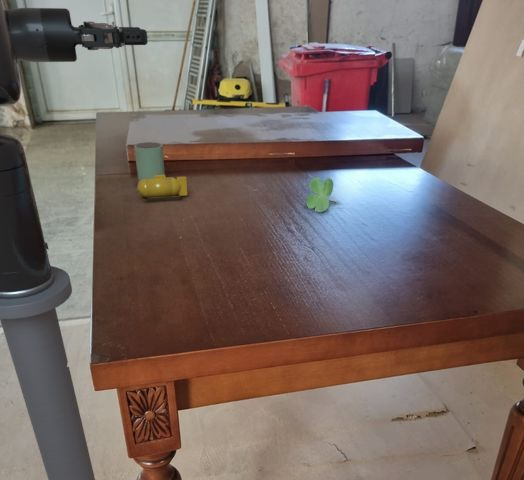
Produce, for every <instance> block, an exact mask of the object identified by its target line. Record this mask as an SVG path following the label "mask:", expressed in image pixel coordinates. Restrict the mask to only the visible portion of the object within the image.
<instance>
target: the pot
mask: <svg viewBox="0 0 524 480" xmlns="http://www.w3.org/2000/svg"><path fill="white" fill-rule="evenodd" d="M133 148H134V150H133V151H134V158H135V167H136V175H137V184H138V183H139V181H140V180H142V179H144V178H154V175H165V176H166V170H165V169H166V167H165V158H164V157H165V156H164V145H163V143H160V142H155V141H154V142H153V141H147V142H138V143H136V144H134V145H133Z"/></svg>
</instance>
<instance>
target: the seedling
mask: <svg viewBox="0 0 524 480" xmlns="http://www.w3.org/2000/svg"><path fill="white" fill-rule="evenodd" d="M308 188H309V190H310V192H312V193H310V194H308V195H307V196H306V200H305V203H306V206H307V208H308V209H310V210H311V209H314V212H316V213H322V212H324V211H326V210H327V209H328V208H329V206H330V203H334V204H336V203H337V202H336V201H334V200H330V198H329V197H330V196H331V195H332V194H333V190H334V181H333V179H332V178H330V177H327V178H325V180H324V181H322V179H321V178H320V177H318V176H316V177H313V178H312V179H311V180H310V181H309V185H308Z"/></svg>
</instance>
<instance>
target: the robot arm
mask: <svg viewBox="0 0 524 480" xmlns="http://www.w3.org/2000/svg"><path fill="white" fill-rule="evenodd" d="M82 23H83V24H80V25H78V26H74V25H73V24H72V18H71V12H70V10H69V9H68V8H65V7H63V8H61V7H57V8H56V7H19V8H11V9H10V8H9V9H5V8H4V5H3V1H2V0H0V107H9V106H13V105H15V104H17V103H19V101H20V98H21V93H22V82H21V81H22V80H21V74H20V67H19V63H18V61H20V62H22V61H23V62H29V63H75V62H76V61H77V59H78V57H77V50H76V46H78V45H79V46H81V47H82V48H85V49H87V51H99V50H112V49H114V48H115V49H120V48H123V47H125V46H146V45H147V44H148V32H147V30H146V29H144V28H141V27H139V26H118V25H115V24H113V25H112V24H109V23H107V22H95V21H83V22H82ZM30 174H31V173H30V170H29V165H28V162H27V156H26V152H25V148H24V145H23V143H22V142H21V140H20V139H19V138H17V137H16V136H13V135H11V134H6V133H3V132H0V298H3V299H14V298H22V297H27V296H31V295H35V294H38V293H40V292H42V291H44V290H46V289H48V288H49V287H50V286H51V285H52V284H53V282H54V277H53V273H52V270H51V266H52V265H51V263H50V258H49V254H48V250H49V245H48V242H46V240H45V236H44V232H43V227H42V223H41V218H40V214H39V210H38V205H37V201H36V197H35V191H34V188H33V183H32V179H31V175H30Z"/></svg>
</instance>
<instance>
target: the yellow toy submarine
mask: <svg viewBox="0 0 524 480" xmlns="http://www.w3.org/2000/svg"><path fill="white" fill-rule="evenodd" d="M187 179H188V178H187V176H176V177H172V176H170V177H169V176H167V177H166V174H165V175H154V178H144V179H142V180H140V181H139V183H138V182H137V185H136V189H137V192H138V194H139V195H140V196H142V197H144V198H146V200H147V202H164V201H165V202H168V201H181V200H182V196H188V180H187Z"/></svg>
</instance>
